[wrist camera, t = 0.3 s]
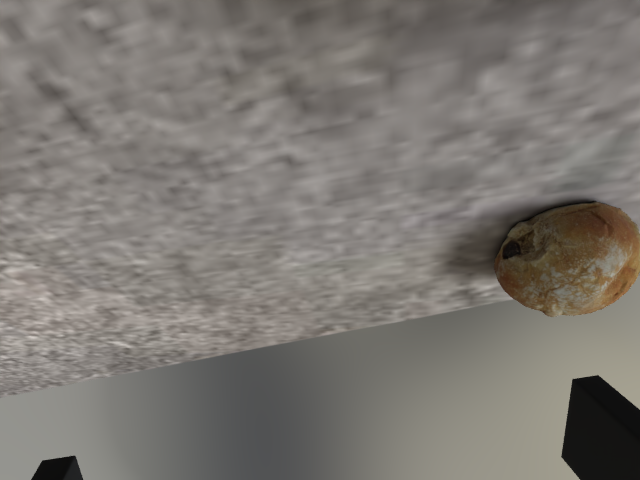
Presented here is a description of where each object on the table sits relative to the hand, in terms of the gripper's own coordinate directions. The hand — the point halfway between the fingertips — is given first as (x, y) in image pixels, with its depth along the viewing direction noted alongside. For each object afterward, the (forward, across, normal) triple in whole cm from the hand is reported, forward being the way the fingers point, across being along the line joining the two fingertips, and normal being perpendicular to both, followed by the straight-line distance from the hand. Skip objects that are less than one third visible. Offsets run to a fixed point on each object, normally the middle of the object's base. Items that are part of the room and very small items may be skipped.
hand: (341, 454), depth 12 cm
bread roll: (+21, +21, -3) cm, 30 cm away
